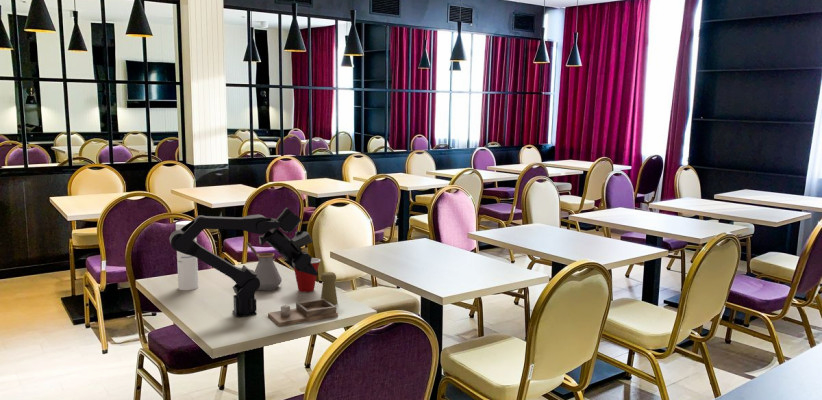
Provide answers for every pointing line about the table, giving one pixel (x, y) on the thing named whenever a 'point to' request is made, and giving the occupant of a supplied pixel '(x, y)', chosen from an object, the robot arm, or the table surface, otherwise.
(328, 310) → the cruet holder
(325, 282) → the cork
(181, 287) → the cylindrical container
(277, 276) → the coffee pot
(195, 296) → the table surface
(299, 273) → the plastic cup
